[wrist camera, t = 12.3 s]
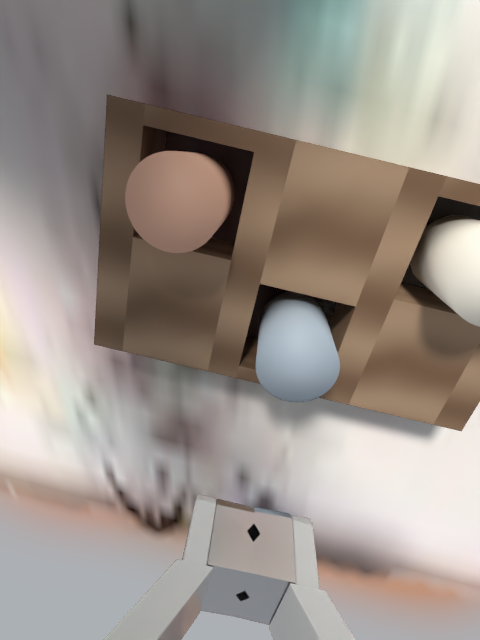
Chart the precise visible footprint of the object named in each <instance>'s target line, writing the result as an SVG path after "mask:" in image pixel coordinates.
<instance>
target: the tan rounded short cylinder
mask: <svg viewBox="0 0 480 640" xmlns="http://www.w3.org/2000/svg"><path fill="white" fill-rule="evenodd" d="M234 200H235V187H234V183H233V180H232V177H231V175H230V173H229V171H228V170H227V168H226V167H225V166H224V165H223V164H222V163H221V162H220V161H219V160H218V159H216V158H215V157H213V156H211V155H208V154H205V153H199V152H182V151H162V152H158V153H154V154H152V155H150V156H148V157H146V158H145V159H143V160H142V161H141V162H140V163H139V164H138V165H137V166H136V167H135V168H134V170H133V171H132V173H131V175H130V177H129V179H128V182H127V186H126V192H125V203H126V209H127V214H128V216H129V219H130V221H131V223H132V225H133V227H134V229H135V230H136V232H137V233H138V234H139V235H140V236H141V237H142V238H143V239H144V240H145V241H146V242H147V243H149V244H150V245H152V246H153V247H155V248H157V249H159V250H162V251H165V252H170V253H186V252H190V251H193V250H195V249H197V248H199V247H201V246H202V245H204V244H205V243H206V242H207V241H208V240H209V239H210V238H211V237H212V236H213V234H214V233H215V232H216V231H217V229H218V228H219V227H220V226H221V225H222V223H223V222H224V221H225V220H226V218H227V217H228V216H229V214H230V212H231V210H232V208H233V205H234Z"/></svg>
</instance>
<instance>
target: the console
mask: <svg viewBox="0 0 480 640" xmlns="http://www.w3.org/2000/svg"><path fill="white" fill-rule="evenodd" d="M167 131H169V132H173V133H177V134H181V135H186V136H190V137H194V138H198V139H202V140H206V141H211V142H215V143H219V144H223V145H227V146H231V147H236V148H240V149H244V150H248V151H252V152H254V155H253V160H252V165H251V169H250V174H249V179H248V183H247V188H246V193H245V198H244V202H243V207H242V212H241V216H240V221H239V226H238V230H237V235H236V240H235V243H232V242H228V241H224V240H219V239H215V238H210V239H209V240H208V241H207V242H206V243H205V244H204V245H202V246H201V247H199V248H197V249H195V250H193V251H190V252H186V253H170V252H165V251H162V250H159V249H157V248H155V247H153V246H152V245H150V244H149V243H147V242H146V241H145V240H144V239H143V238H142V237H141V236H140V235H139V234H138V233H137V232H136V230H135V229H134V227H133V225H132V223H131V221H130V219H129V216H128V214H127V209H126V203H125V192H126V186H127V182H128V179H129V177H130V175H131V173H132V171H133V170H134V168H135V167H136V166H137V165H138V164H139V163H140V162H141V161H142V160H143V159H145V158H146V157H148V156H150V155H152V154H154V153H158V152H162V151H164V149H165V140H166V132H167ZM438 196H439V197H443V198H448V199H452V200H456V201H460V202H464V203H468V204H473V205H477V206H480V184H476V183H472V182H468V181H464V180H460V179H456V178H451V177H447V176H443V175H439V174H435V173H431V172H426V171H422V170H418V169H414V168H410V167H406V166H402V165H397V164H393V163H389V162H385V161H381V160H377V159H373V158H368V157H364V156H360V155H356V154H352V153H348V152H343V151H339V150H335V149H331V148H327V147H323V146H319V145H314V144H310V143H306V142H302V141H298V140H294V139H289V138H285V137H281V136H277V135H273V134H269V133H265V132H260V131H256V130H252V129H248V128H244V127H240V126H235V125H231V124H227V123H223V122H219V121H215V120H211V119H206V118H202V117H198V116H194V115H190V114H186V113H182V112H177V111H173V110H169V109H165V108H161V107H157V106H152V105H148V104H144V103H140V102H136V101H132V100H128V99H123V98H119V97H115V96H111V95H107V105H106V125H105V144H104V163H103V183H102V202H101V221H100V241H99V260H98V279H97V298H96V318H95V337H94V344H95V345H99V346H103V347H107V348H111V349H116V350H120V351H124V352H128V353H133V354H137V355H141V356H145V357H150V358H154V359H158V360H162V361H166V362H171V363H175V364H179V365H183V366H188V367H192V368H196V369H200V370H205V371H209V372H213V373H217V374H221V375H226V376H230V377H234V378H238V379H243V380H247V381H251V382H255V383H260V382H259V379H258V377H257V374H256V355H257V345H258V339H255V338H251V337H246V336H247V332H248V328H249V324H250V321H251V317H252V313H253V309H254V305H255V301H256V297H257V293H258V289H259V285H260V284H263V285H267V286H271V287H275V288H280V289H284V290H288V291H292V292H296V293H301V294H305V295H309V296H313V297H317V298H322V299H326V300H330V301H334V302H336V305H335V308H334V311H333V314H332V316H331V319H330V322H329V328H330V331H331V334H332V337H333V340H334V344H335V347H336V350H337V353H338V356H339V361H340V371H339V375H338V378H337V380H336V382H335V383H334V385H333V386H332V387H331V389H330V390H328V391H327V392H326V393H325V394H323V395H322V396H320V397H319V398H323V399H327V400H331V401H336V402H340V403H344V404H348V405H353V406H357V407H361V408H365V409H370V410H374V411H378V412H382V413H386V414H391V415H395V416H399V417H403V418H408V419H412V420H416V421H420V422H425V423H429V424H433V425H437V426H441V427H446V428H450V429H454V430H458V431H462V429H463V428H464V426H465V424H466V423H467V421H468V420H469V418H470V416H471V415H472V413H473V411H474V410H475V408H476V407H477V405H478V403H479V402H480V327H479V326H476V325H473V324H471V323H469V322H467V321H466V320H464V319H463V318H462V317H461V316H460V315H458V314H457V313H456V312H455V311H454V310H453V309H451V308H450V307H449V306H448V305H447V304H446V303H445V302H443V301H442V300H441V299H440V298H439V297H438V296H436V295H435V294H434V293H433V292H432V291H431V290H429V289H425V288H420V287H416V286H412V285H408V284H404V283H401V282H402V280H403V277H404V275H405V273H406V270H407V268H408V266H409V263H410V261H411V259H412V256H413V254H414V252H415V250H416V247H417V245H418V243H419V240H420V238H421V236H422V233H423V231H424V229H425V226H426V224H427V222H428V219H429V217H430V215H431V212H432V210H433V208H434V205H435V203H436V201H437V198H438ZM260 384H261V383H260Z"/></svg>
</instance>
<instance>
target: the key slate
mask: <svg viewBox="0 0 480 640" xmlns="http://www.w3.org/2000/svg"><path fill="white" fill-rule="evenodd" d="M339 371H340V361H339V356H338V353H337V350H336V347H335V344H334V340H333V337H332V334H331V331H330V328H329V324H328V321H327V318H326V315H325V312H324V309H323V307H322V306H321V304H320V303H319V302H318V301H317V300H316V299H315V298H313V297H312V296H309V295H305V294H301V293H296V292H286V293H282V294H280V295H277V296H276V297H274V298H272V299H271V300H270V301H269V302H268V303H267V304H266V306H265V307H264V309H263V311H262V313H261V317H260V325H259V335H258V345H257V355H256V374H257V377H258V379H259V382H260V383H261V385H262V386H263V387H264V388H265V389H266V390H267V391H268V392H269V393H270V394H272V395H273V396H275V397H277V398H279V399H282V400H285V401H290V402H304V401H309V400H313V399H316V398H318V397H320V396H322V395H323V394H325V393H326V392H327V391H328V390H330V389H331V387H332V386H333V385H334V383H335V382H336V380H337V378H338V375H339Z"/></svg>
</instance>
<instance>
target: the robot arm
mask: <svg viewBox="0 0 480 640" xmlns="http://www.w3.org/2000/svg"><path fill="white" fill-rule="evenodd" d="M200 611H206V612H212V613H218V614H223V615H229V616H234V617H239V618H243V619H247V620H251V621H255V622H259V623H264V624H267V625H269V629H270V631H271V634H272V636H273V639H274V640H355V638H354V636H353V635H352V633H351V631H350V630H349V628H348V627H347V625H346V623H345V622H344V620H343V619H342V617H341V615H340V613H339V612H338V610H337V608H336V607H335V605H334V604H333V602H332V600H331V599H330V597H329V595H328V594H327V592H326V591H325V590H321V589H320V588H319V579H318V569H317V560H316V551H315V542H314V533H313V524H312V522H311V520H310V519H309V518H304V517H299V516H294V515H290V514H288V513H283V512H278V511H273V510H268V509H263V508H258V507H249V506H245V505H241V504H237V503H233V502H229V501H224V500H220V499H216V498H212V497H208V496H203V495H199V494H198V495H197V498H196V502H195V506H194V510H193V514H192V519H191V523H190V527H189V531H188V535H187V540H186V544H185V549H184V553H183V558H182V560H179V559H177V560H176V561H175V562H174V563H173V564H172V565H171V566H170V568H169V569H168V570H167V571H166V572H165V573H164V574H163V575H162V576H161V577H160V578H159V580H158V581H157V582H156V583H155V584H154V585H153V586H152V587H151V588H150V589H149V591H148V592H147V593H146V594H145V595H144V596H143V597H142V598H141V599H140V600H139V601H138V603H137V604H136V605H135V606H134V607H133V608H132V609H131V610H130V611H129V612H128V613H127V615H126V616H125V617H124V618H123V619H122V620H121V621H120V622H119V624H117V626H116V627H115V628H114V629H113V630H112V631H111V632H110V633H109V634H108V635H107V636H106V637H105V639H104V640H181V639H182V638H183V636H184V635H185V633H186V632H187V631H188V629H189V628H190V626H191V624H192V623H193V622H194V620H195V619H196V618H197V616H198V615H199V613H200Z"/></svg>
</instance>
